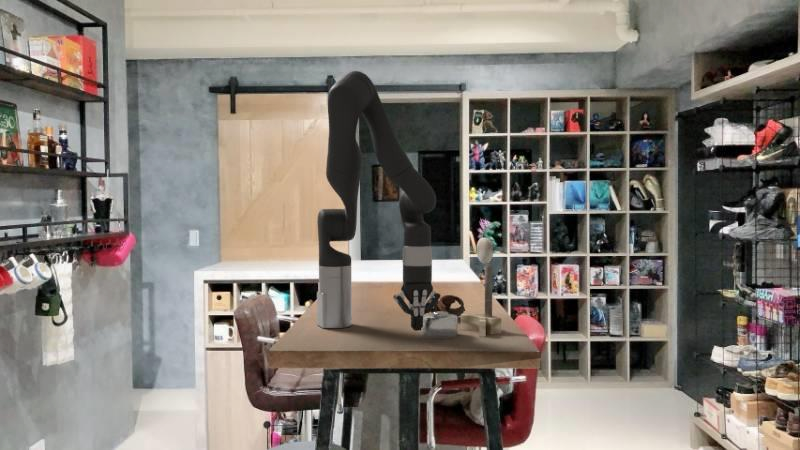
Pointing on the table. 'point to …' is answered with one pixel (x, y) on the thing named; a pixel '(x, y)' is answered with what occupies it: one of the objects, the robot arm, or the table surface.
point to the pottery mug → (449, 305)
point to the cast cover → (440, 325)
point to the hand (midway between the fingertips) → (417, 329)
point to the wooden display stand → (485, 321)
